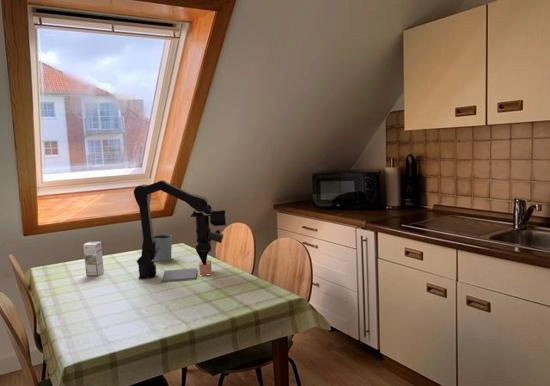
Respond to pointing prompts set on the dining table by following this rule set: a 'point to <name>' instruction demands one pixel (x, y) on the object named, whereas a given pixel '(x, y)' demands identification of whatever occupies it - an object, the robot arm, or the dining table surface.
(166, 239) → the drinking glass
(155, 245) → the robot arm
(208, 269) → the terracotta block
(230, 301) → the dining table surface
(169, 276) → the slate plate
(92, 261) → the syrup box
